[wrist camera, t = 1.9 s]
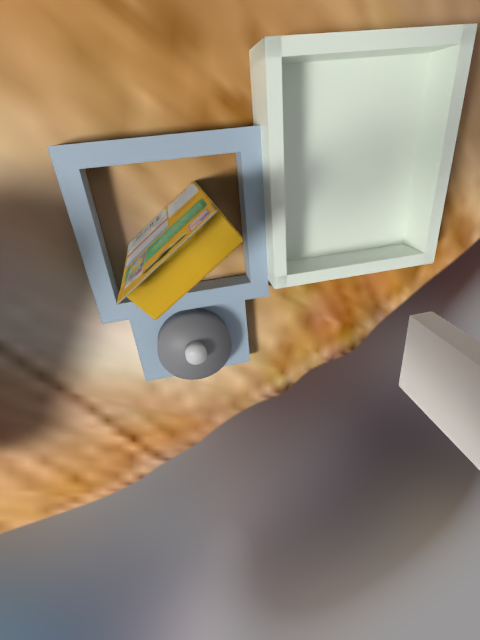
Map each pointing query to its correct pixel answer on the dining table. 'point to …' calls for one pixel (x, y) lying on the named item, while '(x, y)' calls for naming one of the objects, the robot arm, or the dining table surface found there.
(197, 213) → the crayon box
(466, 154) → the dining table surface
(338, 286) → the dining table surface
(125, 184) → the dining table surface
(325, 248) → the tray
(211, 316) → the block
